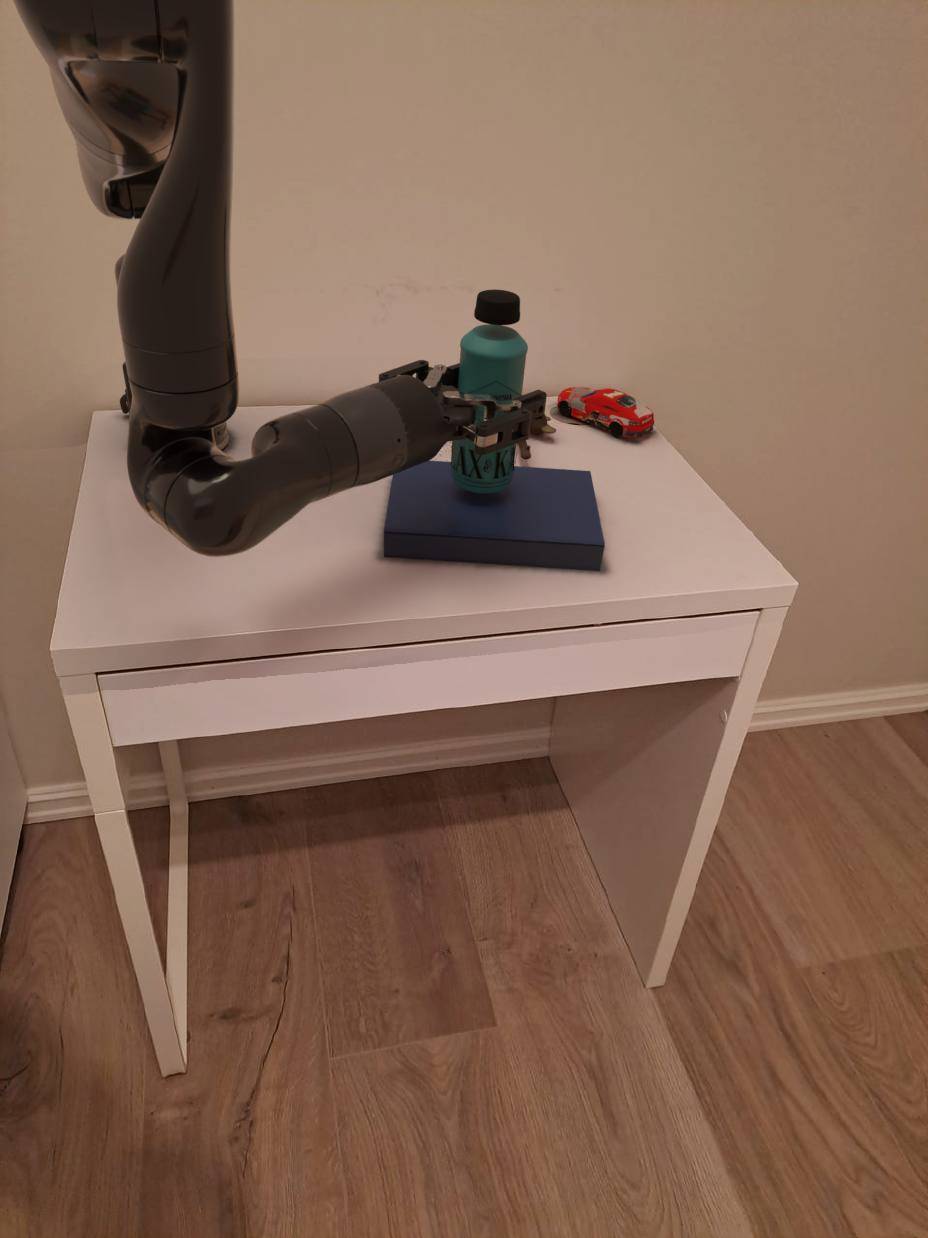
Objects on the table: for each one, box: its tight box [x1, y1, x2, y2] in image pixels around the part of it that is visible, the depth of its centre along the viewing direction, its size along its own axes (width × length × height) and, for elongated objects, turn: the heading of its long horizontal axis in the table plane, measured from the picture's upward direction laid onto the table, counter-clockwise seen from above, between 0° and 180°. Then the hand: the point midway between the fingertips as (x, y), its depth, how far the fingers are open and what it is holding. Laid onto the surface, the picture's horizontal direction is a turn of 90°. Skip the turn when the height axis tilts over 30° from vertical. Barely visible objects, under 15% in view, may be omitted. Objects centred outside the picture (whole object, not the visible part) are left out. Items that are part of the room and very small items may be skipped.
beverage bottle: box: [450, 289, 529, 493], centre depth 86 cm, size 6×7×20 cm
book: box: [383, 460, 606, 571], centre depth 92 cm, size 21×14×3 cm
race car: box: [556, 386, 655, 438], centre depth 113 cm, size 13×5×4 cm, turn 47°
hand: (508, 385), depth 84 cm, fingers open, 8 cm apart
